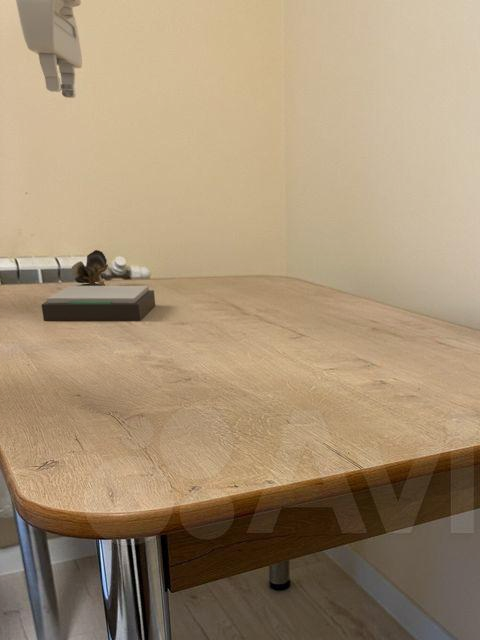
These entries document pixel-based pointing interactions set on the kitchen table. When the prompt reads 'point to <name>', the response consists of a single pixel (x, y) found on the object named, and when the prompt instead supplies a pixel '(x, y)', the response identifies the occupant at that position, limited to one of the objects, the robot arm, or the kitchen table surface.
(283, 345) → the kitchen table surface
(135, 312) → the scale
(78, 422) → the kitchen table surface
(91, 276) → the eagle figurine
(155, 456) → the kitchen table surface
